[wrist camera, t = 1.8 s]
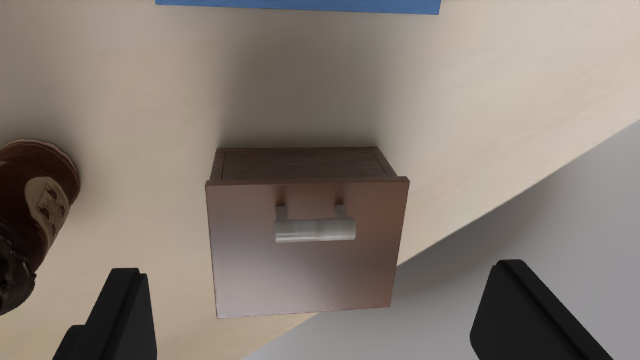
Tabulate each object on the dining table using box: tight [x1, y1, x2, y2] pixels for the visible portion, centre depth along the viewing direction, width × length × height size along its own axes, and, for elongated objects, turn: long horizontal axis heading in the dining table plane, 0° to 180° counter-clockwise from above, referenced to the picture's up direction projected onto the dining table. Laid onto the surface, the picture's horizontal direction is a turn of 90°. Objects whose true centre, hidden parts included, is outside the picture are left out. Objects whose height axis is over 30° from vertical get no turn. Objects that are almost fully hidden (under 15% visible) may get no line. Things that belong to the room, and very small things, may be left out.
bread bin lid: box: [205, 176, 410, 319], centre depth 29 cm, size 11×14×4 cm
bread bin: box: [210, 147, 397, 180], centre depth 34 cm, size 11×14×7 cm
